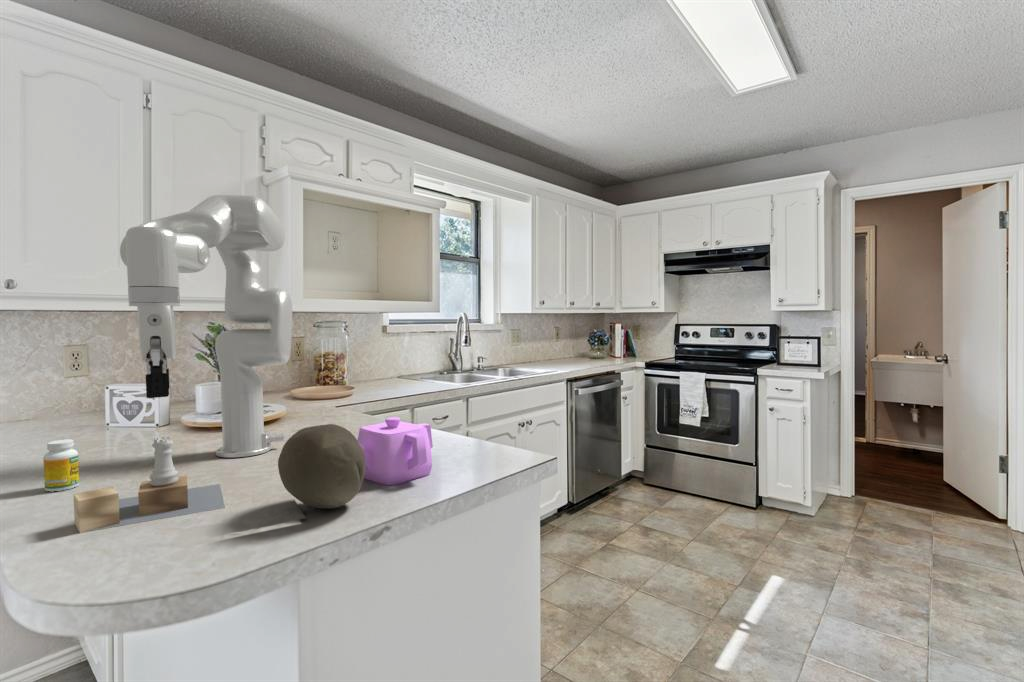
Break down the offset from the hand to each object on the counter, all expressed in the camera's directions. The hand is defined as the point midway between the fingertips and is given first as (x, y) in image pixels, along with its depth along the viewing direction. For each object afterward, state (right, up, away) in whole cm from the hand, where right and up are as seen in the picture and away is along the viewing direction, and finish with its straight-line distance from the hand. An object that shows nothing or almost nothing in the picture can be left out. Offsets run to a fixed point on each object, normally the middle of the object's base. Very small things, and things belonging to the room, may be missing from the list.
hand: (158, 393), depth 94 cm
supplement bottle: (-28, -21, +12) cm, 37 cm away
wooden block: (+2, -20, -1) cm, 20 cm away
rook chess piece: (+2, -16, -1) cm, 16 cm away
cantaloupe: (+30, -21, -1) cm, 36 cm away
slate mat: (0, -21, -1) cm, 21 cm away
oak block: (-4, -20, -9) cm, 23 cm away
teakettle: (+37, -20, +20) cm, 46 cm away
